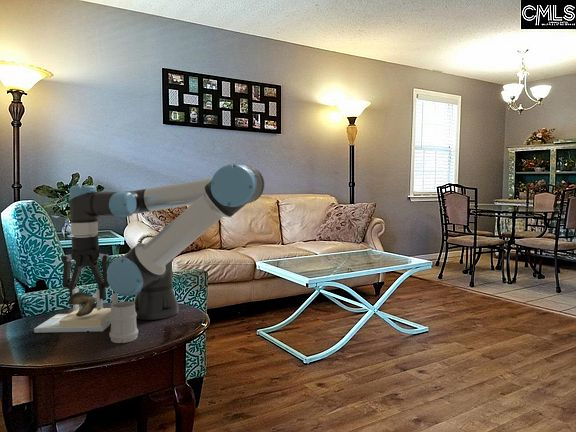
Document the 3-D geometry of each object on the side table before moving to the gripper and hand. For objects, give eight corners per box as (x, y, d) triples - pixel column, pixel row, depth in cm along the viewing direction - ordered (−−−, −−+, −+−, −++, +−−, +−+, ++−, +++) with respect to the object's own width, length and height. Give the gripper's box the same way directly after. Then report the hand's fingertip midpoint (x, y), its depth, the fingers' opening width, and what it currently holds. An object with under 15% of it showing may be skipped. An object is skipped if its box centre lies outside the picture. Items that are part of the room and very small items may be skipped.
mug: (116, 346, 118) (114, 302, 117) (99, 335, 127) (98, 294, 126) (143, 338, 124) (141, 297, 123) (125, 328, 132) (124, 289, 131)
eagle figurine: (74, 304, 138) (61, 307, 130) (87, 285, 139) (75, 286, 130) (94, 317, 138) (82, 321, 129) (107, 298, 139) (97, 300, 130)
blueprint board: (119, 316, 144) (118, 307, 144) (103, 331, 130) (102, 320, 130) (57, 317, 143) (56, 308, 143) (34, 332, 129) (33, 321, 129)
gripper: (121, 233, 139) (124, 305, 140) (58, 234, 138) (62, 306, 140) (112, 236, 131) (115, 312, 133) (46, 237, 130) (50, 313, 132)
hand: (88, 309), depth 136 cm, fingers closed on eagle figurine, 6 cm apart
